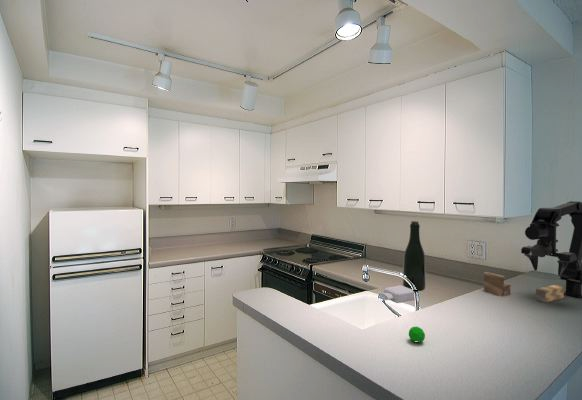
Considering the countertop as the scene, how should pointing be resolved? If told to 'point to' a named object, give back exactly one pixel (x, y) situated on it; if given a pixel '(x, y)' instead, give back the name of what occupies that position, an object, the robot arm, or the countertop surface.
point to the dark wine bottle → (414, 260)
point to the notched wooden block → (495, 284)
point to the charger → (398, 294)
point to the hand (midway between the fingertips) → (547, 272)
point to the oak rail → (549, 293)
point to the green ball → (416, 334)
